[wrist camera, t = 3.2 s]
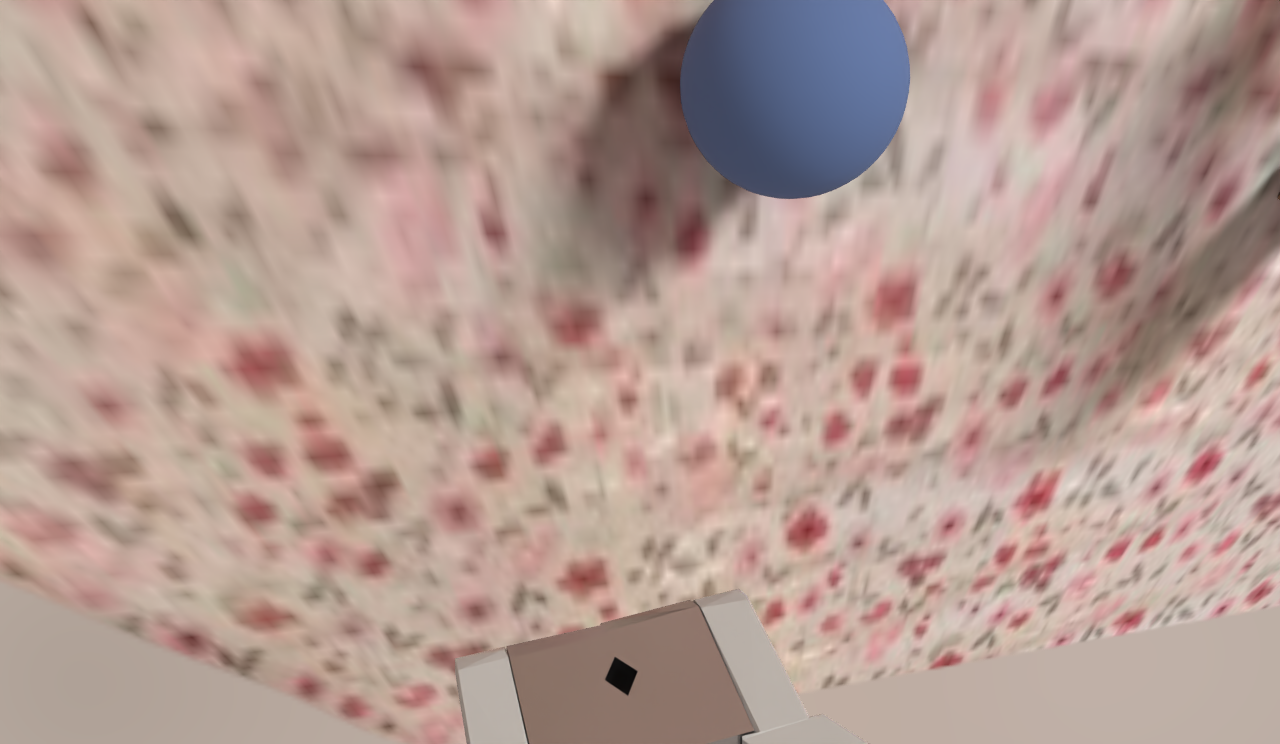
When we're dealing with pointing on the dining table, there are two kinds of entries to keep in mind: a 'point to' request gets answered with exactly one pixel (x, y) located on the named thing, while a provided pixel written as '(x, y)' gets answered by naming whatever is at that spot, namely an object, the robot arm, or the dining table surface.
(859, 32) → the ball
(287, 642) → the dining table surface
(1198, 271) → the dining table surface
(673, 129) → the dining table surface
